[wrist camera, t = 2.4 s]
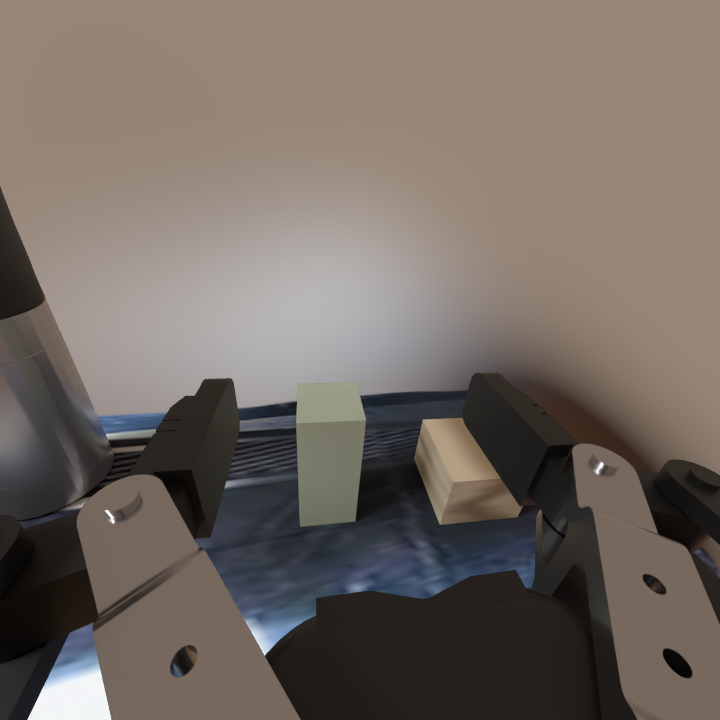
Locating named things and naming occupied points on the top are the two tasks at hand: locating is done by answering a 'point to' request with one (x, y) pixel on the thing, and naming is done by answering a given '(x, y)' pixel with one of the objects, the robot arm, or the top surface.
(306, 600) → the top surface
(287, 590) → the top surface
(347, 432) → the sage block
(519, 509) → the birch base block
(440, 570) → the top surface
